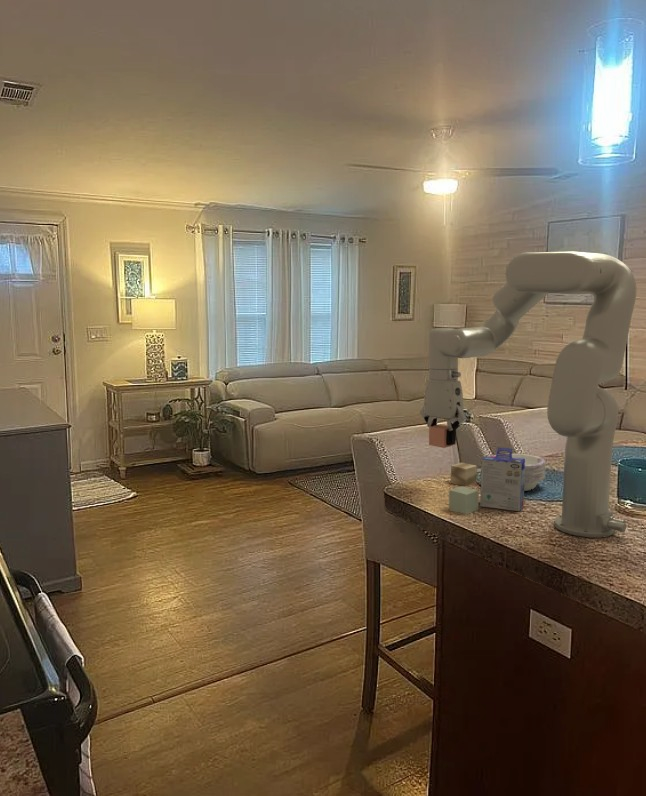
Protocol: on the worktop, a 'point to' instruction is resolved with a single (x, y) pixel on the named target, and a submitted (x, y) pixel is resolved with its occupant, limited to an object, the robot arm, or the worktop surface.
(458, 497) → the sage block
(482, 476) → the ink cartridge box
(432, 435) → the coral block
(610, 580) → the worktop surface
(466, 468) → the maple block
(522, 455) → the paper bowls
